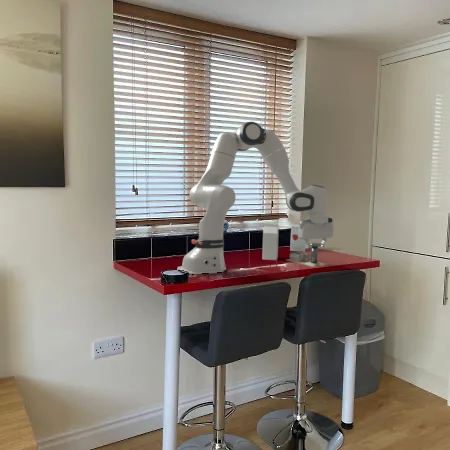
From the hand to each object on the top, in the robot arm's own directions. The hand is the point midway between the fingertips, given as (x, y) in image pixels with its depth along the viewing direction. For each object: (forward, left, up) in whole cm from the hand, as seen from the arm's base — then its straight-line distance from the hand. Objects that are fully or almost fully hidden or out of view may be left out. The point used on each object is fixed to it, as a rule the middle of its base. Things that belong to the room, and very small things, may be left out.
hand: (314, 247), depth 217 cm
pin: (0, 0, -8) cm, 8 cm away
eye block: (0, +6, -10) cm, 11 cm away
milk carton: (-10, +22, -10) cm, 26 cm away
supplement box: (+27, +41, -10) cm, 50 cm away
